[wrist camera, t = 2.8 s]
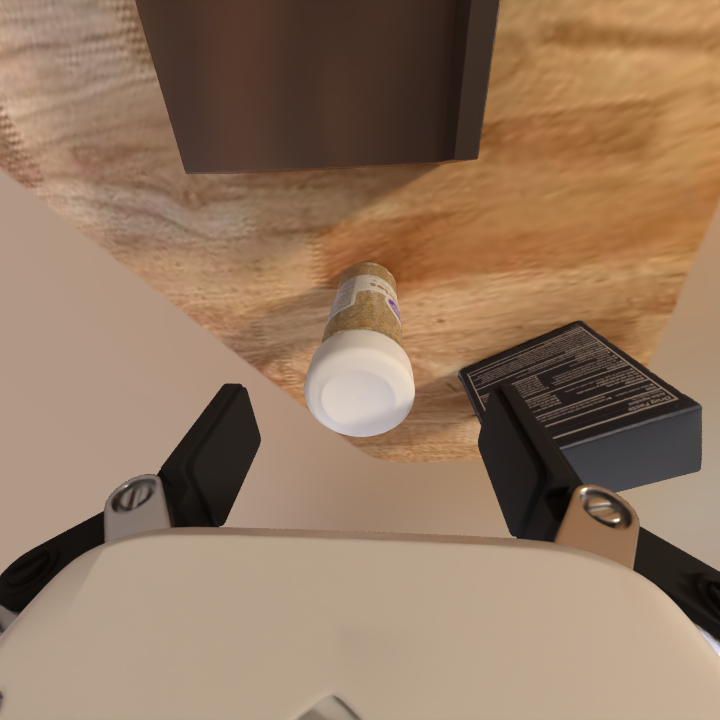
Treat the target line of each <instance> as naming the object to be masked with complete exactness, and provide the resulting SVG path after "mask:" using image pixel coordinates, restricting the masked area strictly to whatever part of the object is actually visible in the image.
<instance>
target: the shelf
mask: <svg viewBox="0 0 720 720" xmlns="http://www.w3.org/2000/svg"><path fill="white" fill-rule="evenodd" d="M135 2H136V5H137V9H138V12H139V15H140V19H141V22H142V26H143V29H144V32H145V36H146V39H147V43H148V46H149V49H150V53H151V56H152V60H153V63H154V66H155V70H156V73H157V77H158V80H159V83H160V87H161V90H162V94H163V97H164V100H165V104H166V107H167V111H168V114H169V118H170V121H171V124H172V128H173V131H174V135H175V138H176V141H177V145H178V148H179V152H180V155H181V158H182V162H183V165H184V169H185V172H186V174H239V173H261V172H283V171H305V170H327V169H349V168H372V167H394V166H416V165H438V164H448V163H455V162H462V161H469V160H476V159H478V154H479V147H480V140H481V133H482V126H483V119H484V112H485V105H486V98H487V91H488V84H489V77H490V70H491V63H492V56H493V49H494V42H495V35H496V28H497V21H498V14H499V7H500V0H135Z"/></svg>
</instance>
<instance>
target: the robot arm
mask: <svg viewBox="0 0 720 720" xmlns="http://www.w3.org/2000/svg"><path fill="white" fill-rule="evenodd" d="M260 442H261V437H260V433H259V429H258V426H257V423H256V419H255V416H254V412H253V409H252V406H251V402H250V399H249V395H248V392H247V389H246V388H245V387H243V386H242V385H241V384H224V385H223V386H222V388H221V389H220V390H219V391H218V393H217V394H216V395H215V397H214V398H213V399H212V401H211V402H210V403H209V405H208V406H207V407H206V409H205V410H204V411H203V413H202V414H201V415H200V417H199V418H198V419H197V421H196V422H195V423H194V425H193V426H192V427H191V429H190V430H189V431H188V433H187V434H186V435H185V436H184V438H183V439H182V440H181V442H180V443H179V444H178V446H177V447H176V448H175V450H174V451H173V452H172V454H171V455H170V456H169V458H168V459H167V461H166V462H165V463H164V464H163V466H162V467H161V470H160V471H159V473H158V474H157V475H155V474H144V475H139V476H137V477H134V478H132V479H130V480H128V481H126V482H124V483H123V484H122V485H120V486H119V487H118V488H116V489H115V490H114V491H113V493H112V494H111V495H110V496H109V498H108V499H107V501H106V503H105V508H104V511H103V512H101V513H99V514H97V515H96V516H93V517H92V518H90V519H88V520H86V521H84V522H82V523H81V524H79V525H77V526H75V527H73V528H71V529H69V530H67V531H66V532H63V533H62V534H60V535H58V536H56V537H54V538H52V539H50V540H49V541H47V542H45V543H43V544H41V545H39V546H37V547H35V548H33V549H32V550H30V551H29V552H27V553H25V554H24V555H22V556H21V557H19V558H18V559H17V560H16V561H14V562H13V563H12V564H11V565H10V566H9V567H8V568H7V569H6V570H5V571H4V572H3V573H2V574H1V576H0V720H720V572H719V571H717V570H716V569H714V568H712V567H710V566H709V565H706V564H705V563H703V562H702V561H700V560H698V559H696V558H695V557H693V556H691V555H689V554H688V553H686V552H684V551H682V550H681V549H679V548H677V547H675V546H674V545H672V544H670V543H668V542H667V541H665V540H663V539H661V538H659V537H658V536H656V535H654V534H653V533H651V532H649V531H647V530H646V529H644V528H642V527H640V524H639V518H638V516H637V514H636V512H635V510H634V509H633V508H632V507H631V505H630V504H629V503H628V502H627V501H625V500H624V499H623V498H622V497H621V496H619V495H618V494H616V493H614V492H612V491H611V490H609V489H606V488H603V487H601V486H597V485H591V484H589V485H584V484H583V482H582V481H581V479H580V478H579V476H578V475H577V473H576V472H575V470H574V469H573V467H572V466H571V464H570V463H569V461H568V460H567V458H566V457H565V455H564V454H563V452H562V451H561V449H560V448H559V446H558V445H557V443H556V442H555V440H554V439H553V437H552V436H551V434H550V433H549V431H548V430H547V428H546V427H545V426H544V424H543V423H542V422H541V421H539V420H537V418H536V417H535V415H534V414H533V412H532V411H531V409H530V408H529V406H528V405H527V403H526V402H525V400H524V399H523V397H522V396H521V394H520V393H519V391H518V390H517V388H516V387H515V385H513V384H497V385H496V386H495V388H491V389H490V392H489V396H488V400H487V405H486V409H485V413H484V417H483V421H482V426H481V430H480V434H479V438H478V447H479V451H480V453H481V456H482V459H483V461H484V464H485V467H486V469H487V472H488V475H489V478H490V480H491V483H492V486H493V488H494V491H495V494H496V496H497V499H498V502H499V505H500V508H501V510H502V513H503V516H504V518H505V521H506V524H507V527H508V529H509V532H510V534H511V535H512V536H516V537H517V539H515V538H497V537H480V536H460V535H459V536H458V535H436V534H410V533H386V532H359V531H330V530H329V531H328V530H301V529H267V528H229V527H219V526H222V525H224V523H225V522H226V520H227V517H228V515H229V513H230V510H231V508H232V506H233V504H234V502H235V499H236V497H237V495H238V493H239V491H240V488H241V486H242V484H243V482H244V479H245V477H246V475H247V472H248V470H249V468H250V466H251V464H252V462H253V459H254V457H255V455H256V453H257V450H258V448H259V445H260Z"/></svg>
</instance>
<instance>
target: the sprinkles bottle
mask: <svg viewBox="0 0 720 720" xmlns="http://www.w3.org/2000/svg"><path fill="white" fill-rule="evenodd" d="M396 295H397V288H396V282H395V280H394V278H393V276H392V274H391V273H390V272H389V271H388V270H387V269H386V268H385V267H383V266H381V265H379V264H377V263H372V262H364V263H359V264H356V265H354V266H352V267H350V268H349V269H348V270H347V271H346V272H345V273H344V274H343V276H342V278H341V280H340V283H339V290H338V292H337V294H336V297H335V300H334V303H333V306H332V309H331V312H330V315H329V318H328V321H327V324H326V327H325V331H324V337H323V339H322V343H321V345H320V346H319V347H318V349H317V350H316V352H315V353H314V355H313V358H312V360H311V363H310V366H309V370H308V373H307V376H306V380H305V385H304V394H305V400H306V403H307V406H308V408H309V409H310V411H311V413H312V414H313V416H314V417H315V418H316V419H317V420H318V421H319V422H321V423H322V424H323V425H324V426H326V427H328V428H330V429H331V430H333V431H335V432H338V433H341V434H344V435H349V436H356V437H366V436H374V435H378V434H382V433H385V432H387V431H389V430H391V429H393V428H394V427H396V426H397V425H399V424H400V423H401V422H402V421H403V420H404V419H405V418H406V417H407V415H408V414H409V412H410V410H411V409H412V406H413V402H414V397H415V387H414V379H413V373H412V368H411V364H410V361H409V358H408V356H407V354H406V353H405V351H404V348H403V341H402V334H401V333H402V327H401V321H400V314H399V306H398V300H397V296H396Z"/></svg>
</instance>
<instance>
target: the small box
mask: <svg viewBox="0 0 720 720" xmlns="http://www.w3.org/2000/svg"><path fill="white" fill-rule="evenodd" d="M458 377H459V379H460V380H461V382H462V383H463V385H464V388H465V390H466V392H467V394H468V397H469V399H470V401H471V404H472V406H473V408H474V411H475V413H476V415H477V417H478V420H479V422H480V424H481V426H482V421H483V417H484V413H485V409H486V405H487V400H488V396H489V392H490V389H491V388H495V386H496V385H497V384H513V385H515V387H516V388H517V390H518V391H519V393H520V394H521V396H522V397H523V399H524V400H525V402H526V403H527V405H528V406H529V408H530V409H531V411H532V412H533V414H534V415H535V417H536V418H537V420H539V421H541V422H542V423H543V424H544V426H545V427H546V428H547V430H548V431H549V433H550V434H551V436H552V437H553V439H554V440H555V442H556V443H557V445H558V446H559V448H560V449H561V451H562V452H563V454H564V455H565V457H566V458H567V460H568V461H569V463H570V464H571V466H572V467H573V469H574V470H575V472H576V473H577V475H578V476H579V478H580V479H581V481H582V482H583V484H584V485H589V484H591V485H597V486H601V487H603V488H606V489H609V490H611V491H612V492H614V493H616V492H620V491H624V490H628V489H632V488H635V487H639V486H643V485H646V484H650V483H655V482H659V481H662V480H666V479H670V478H674V477H678V476H681V475H686V474H690V473H694V472H698V471H700V469H701V461H702V457H701V456H702V406H701V405H700V404H699V403H697V402H696V401H694V400H693V399H691V398H690V397H688V396H687V395H685V394H682V393H681V392H679V391H678V390H677V389H676V388H674V387H673V386H671V385H669V384H668V383H666V382H665V381H664V380H662V379H661V378H659V377H658V376H657V375H656V374H654V373H652V372H650V371H649V369H647V368H646V367H644V366H643V365H642V364H640V363H639V362H638V361H636V360H635V359H633V358H632V357H630V356H629V355H627V354H626V353H625V352H624V351H622V350H620V349H619V348H618V347H616V346H615V345H614V344H612V343H610V342H609V341H608V340H607V339H605V338H604V337H603V336H601V335H599V334H598V333H596V331H594V330H593V329H591V328H590V327H589V326H588V325H587V324H586V323H584V322H583V321H577V322H575V323H573V324H570V325H568V326H565V327H563V328H561V329H558V330H556V331H554V332H551V333H549V334H546V335H544V336H542V337H539V338H537V339H535V340H532V341H530V342H528V343H525V344H523V345H520V346H518V347H516V348H513V349H511V350H508V351H506V352H504V353H501V354H499V355H497V356H494V357H492V358H490V359H487V360H485V361H482V362H480V363H478V364H476V365H473V366H471V367H468V368H466V369H464V370H461V371H459V375H458Z"/></svg>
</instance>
